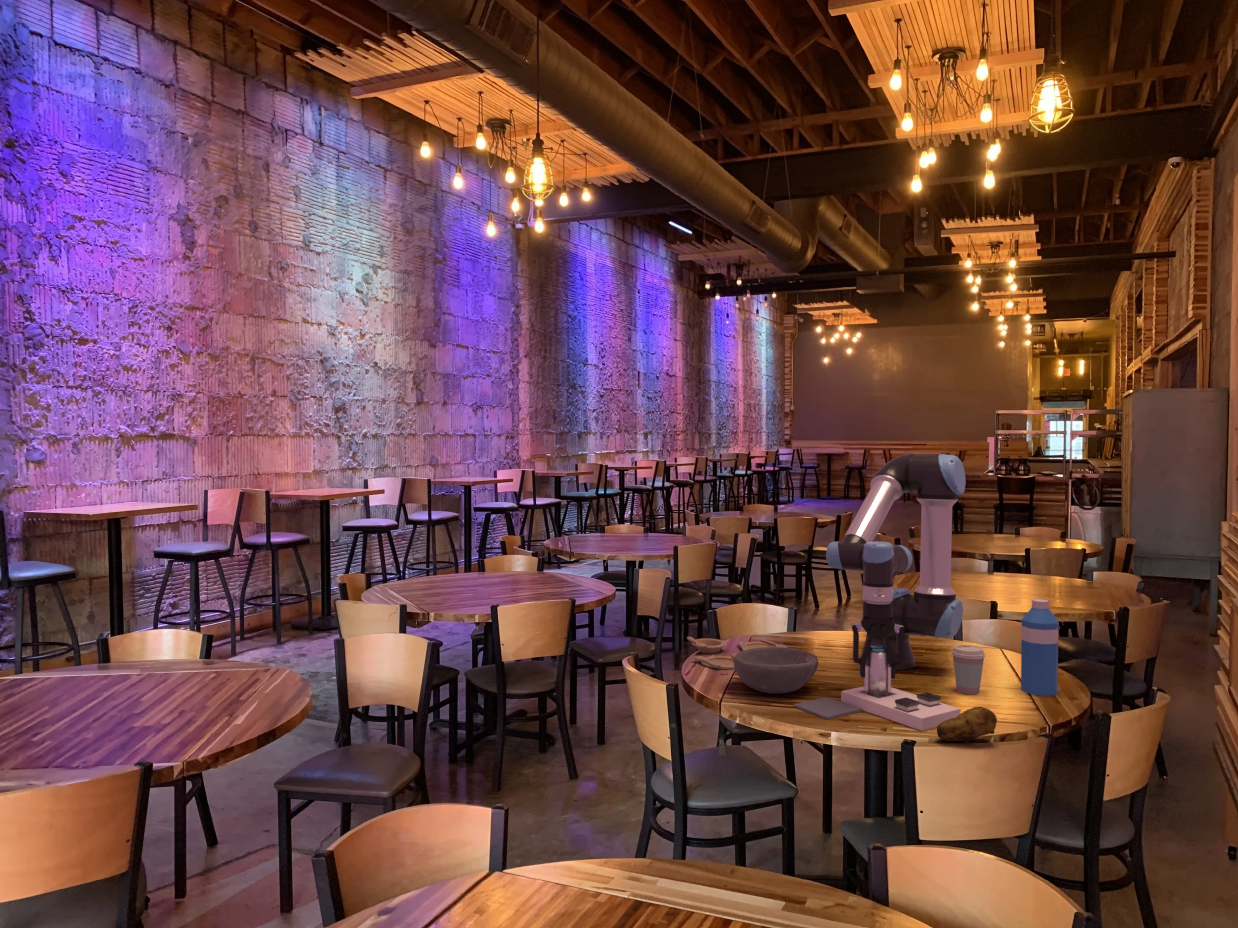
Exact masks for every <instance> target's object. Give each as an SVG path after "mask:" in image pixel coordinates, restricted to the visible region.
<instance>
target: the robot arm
mask: <svg viewBox="0 0 1238 928" xmlns="http://www.w3.org/2000/svg"><path fill="white" fill-rule="evenodd" d="M966 479H967V478H966V472H965V467H964V465H963V462H962V461H961V459H960V458H959V457H958V456H956V455H953V454H943V453H937V454H936V453H935V454H933V453H932V454H931V453H930V454H929V453H928V454H927V453H925V454H919V453H915V454H913V453H907V454H901V455H899V456H896V457H894V458H893V459H890V460H889V461H888V462H886V463H885V464H884V465H883V466H882V467H880V468H879V469H878V471H877V472H876V473H875V474H874V476H872V479H871V481H870V490H869V491H868V493H867V495H866V496H865V498H864V500H863V502H862V504H861V506H860V507H859V509H858V511H857V513H856V515H855V516H854V518H853V520H852V521H851V523H850V526H849V527H848V529H847V530H846V532H845V534H844V536H843V538H842V540H841V541H832V542H830V543H829V544H828V546H827V548H826V552H825V559H826V562H827V565H828V566H829V567H830V568H832V569H838V570H842V571H855V572H856V571H857V572H862V573H863V577H862V578H863V581H862V583H863V584H862V599H863V601H864V602H862V619H861V620H860V622H857V623H852V624H851V625H850V627H851V630H852V635H853V636H852V660H853V662H854V664H859V676H860V677H861V678H863V686H864V689H865V691H868V653H869V650H870V646H873V645H878V646H884V647H885V648H886V651H887V653H888V664H887V691H888V692H891V687H892V680H894V679H896V671H906V670H911V669H913V668H915V666H916V658H915V656H914V653H913V650H912V645H911V642H910V635H918V636H919V635H920V636H927V637H933V638H936V639H939V638H940V639H952V638H953V637H955V636H956V634H958V631H959V629H960V627H961V624H962V619H963V613H964V607H963V602H962V601H961V600H960V599H958V598H957V592H956V591H955V590H954V589H953V588H952V586H951V583H952V582H951V578H952V577H951V576H952V539H953V537H952V535H953V534H952V533H953V531H952V530H953V529H952V528H953V507H954V505H955V504H956V503H957V502H958V501H959V496H960V495H963V494H964V492H965V491H966V485H967V483H966V482H967V481H966ZM904 493H906V494H907V493H912V494H915V493H916V500H917V502H919V504H920V505H921V517H920V519H921V520H920V525H921V526H920V558H919V559H920V563H919V565H920V566H919V585H918V586H917V587H916V588H915V589H914V594H911V590H910V589H909V588H905V587H895V588H894V576H895V575H899V574H902V573H904V572H906V571H908V570H909V569H910V568H911V566H912V564H913V556H912V552H911V551H910V550H909V548H907V547H905V546H904V545H900V544H892V542H887V541H874V540H875V537H876V536H877V534H878V533H879V532H878V531H879V530H880V528H881V526H882V525H883V522H884V521H885V519H886V516H887V515H888V513H889V511H890V509H891V507H892V506H893V504H894V501H896V500H899V499H900V498H901V496H902V495H903V494H904ZM862 628H863V630H864V631H865V632H866V635H865V640H864V644H863V647H862V651H861V655H860V654H859V650H860V645H859V643H860V632H861V630H862ZM859 655H860V657H859Z"/></svg>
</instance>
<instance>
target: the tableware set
mask: <svg viewBox="0 0 1238 928" xmlns="http://www.w3.org/2000/svg"><path fill="white" fill-rule="evenodd" d="M686 640H688V641H690V642H691V645H692V646H694V647H696V648H697V650H698V652H700V653H702V654H717V653H720V651H721V649H722V648H725V647H726V646H727V645H728V644H727V642H726V641H725V640H722V639H717V638H709V637H708V638H706V637H705V638H697V639H695V638H694V637H692V636H686ZM737 644H738V645H739V648H740V649H741V651H743V650H747V649H753V648H761V647H785V648H789V646H787V645H784V644H781V643H780V644H778V643H776V642H773V641H770V640H768V639H764V638H761V639H760V641H748V642H743V641H742V640H738V641H737ZM737 653H738V652H734V653H733V652H732V653H731V654H730V656H728V655H713V656H712V655H711V656H706V657H704V656H702V655H696V656H692V658H693V659H694V660H696V661H698V662H700V663H701V665H702V666H705V667H707V668H711V669H716V670H735V667H734V657H735V655H736V654H737Z"/></svg>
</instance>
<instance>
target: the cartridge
mask: <svg viewBox="0 0 1238 928" xmlns="http://www.w3.org/2000/svg"><path fill="white" fill-rule="evenodd" d="M887 664H888V653H887V651H886V648H885V647H884V646H878V645H873V646H870V650H869V653H868V691H867V695H870V696H873V697H876V698H882V697H887Z"/></svg>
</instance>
